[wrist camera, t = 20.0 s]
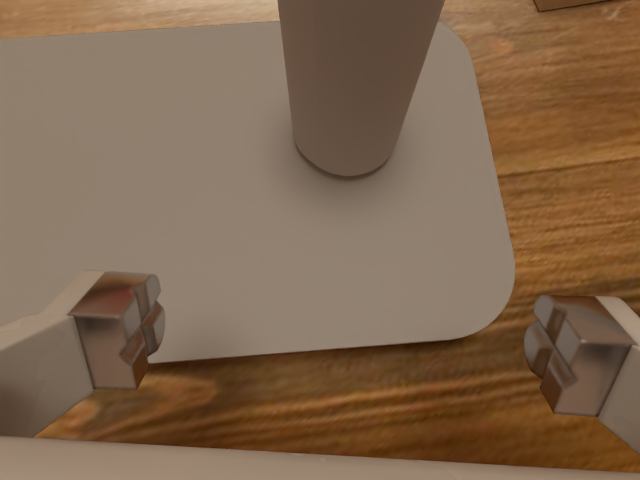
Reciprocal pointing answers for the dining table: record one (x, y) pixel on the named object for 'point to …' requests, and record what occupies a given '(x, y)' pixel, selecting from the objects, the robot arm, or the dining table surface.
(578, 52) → the dining table surface
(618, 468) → the dining table surface
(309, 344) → the grey flat rounded rectangle
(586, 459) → the dining table surface
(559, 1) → the closed book
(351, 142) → the beverage can
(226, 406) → the dining table surface
